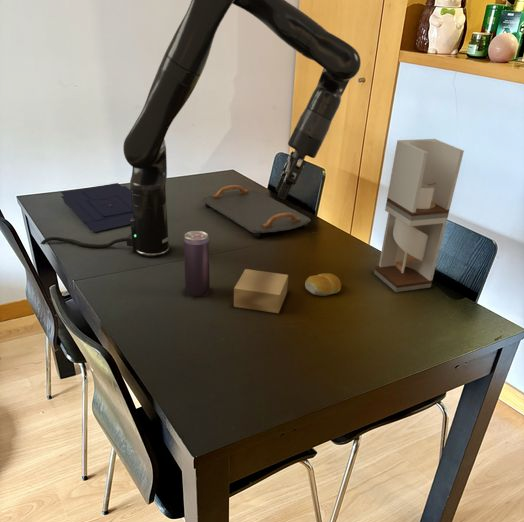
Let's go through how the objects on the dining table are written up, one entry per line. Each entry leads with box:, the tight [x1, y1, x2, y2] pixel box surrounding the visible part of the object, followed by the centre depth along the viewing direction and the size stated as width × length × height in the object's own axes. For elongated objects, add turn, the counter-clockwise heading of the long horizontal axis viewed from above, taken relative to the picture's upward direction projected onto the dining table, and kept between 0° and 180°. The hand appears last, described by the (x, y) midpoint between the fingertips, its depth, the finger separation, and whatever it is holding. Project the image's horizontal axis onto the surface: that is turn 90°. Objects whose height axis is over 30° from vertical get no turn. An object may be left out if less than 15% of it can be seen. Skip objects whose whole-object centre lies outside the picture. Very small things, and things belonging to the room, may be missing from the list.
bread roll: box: [304, 272, 342, 297], centre depth 140 cm, size 8×9×4 cm
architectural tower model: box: [373, 138, 465, 293], centre depth 137 cm, size 11×11×35 cm
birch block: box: [233, 268, 289, 314], centre depth 133 cm, size 11×11×5 cm
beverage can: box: [183, 230, 211, 298], centre depth 132 cm, size 6×6×15 cm
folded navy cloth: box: [60, 182, 133, 233], centre depth 179 cm, size 24×30×4 cm
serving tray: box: [201, 184, 312, 240], centre depth 180 cm, size 39×23×6 cm, turn 34°
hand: (279, 195), depth 138 cm, fingers open, 8 cm apart
